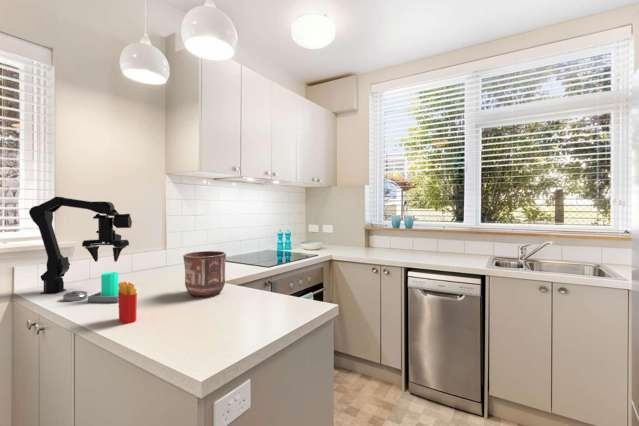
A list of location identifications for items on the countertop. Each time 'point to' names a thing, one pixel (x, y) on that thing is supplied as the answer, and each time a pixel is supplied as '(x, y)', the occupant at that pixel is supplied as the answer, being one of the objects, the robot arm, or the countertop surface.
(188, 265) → the pottery
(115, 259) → the robot arm
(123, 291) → the french fries
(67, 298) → the pulley
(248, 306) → the countertop surface
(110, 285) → the candle
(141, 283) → the countertop surface
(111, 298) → the tray
